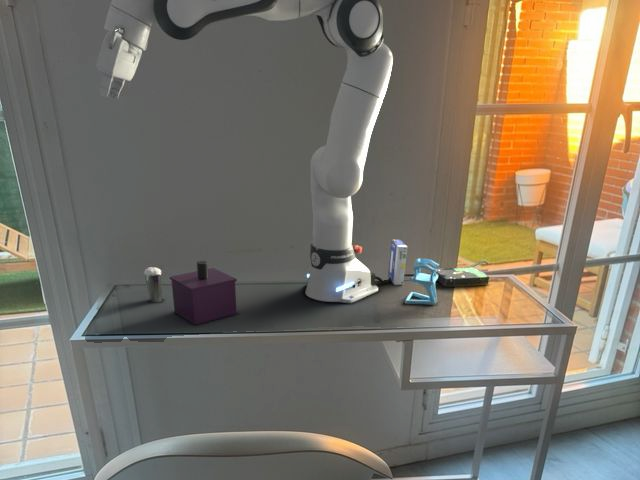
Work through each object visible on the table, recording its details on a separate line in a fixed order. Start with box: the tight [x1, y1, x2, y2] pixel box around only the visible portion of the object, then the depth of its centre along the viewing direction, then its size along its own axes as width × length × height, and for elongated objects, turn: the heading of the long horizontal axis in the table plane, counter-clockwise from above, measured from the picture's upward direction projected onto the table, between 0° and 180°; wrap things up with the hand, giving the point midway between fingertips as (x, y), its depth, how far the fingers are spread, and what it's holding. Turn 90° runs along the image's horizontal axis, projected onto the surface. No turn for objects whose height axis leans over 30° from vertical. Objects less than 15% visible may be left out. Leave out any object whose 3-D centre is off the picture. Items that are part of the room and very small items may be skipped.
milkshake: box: [143, 265, 164, 303], centre depth 160 cm, size 4×5×10 cm
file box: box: [171, 280, 237, 325], centre depth 154 cm, size 13×11×9 cm
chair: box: [404, 258, 440, 306], centre depth 167 cm, size 8×8×12 cm
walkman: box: [387, 239, 408, 286], centre depth 181 cm, size 8×3×12 cm, turn 10°
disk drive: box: [436, 266, 490, 288], centre depth 186 cm, size 10×3×15 cm
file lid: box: [169, 260, 238, 291], centre depth 151 cm, size 13×11×5 cm
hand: (108, 96), depth 133 cm, fingers open, 8 cm apart
